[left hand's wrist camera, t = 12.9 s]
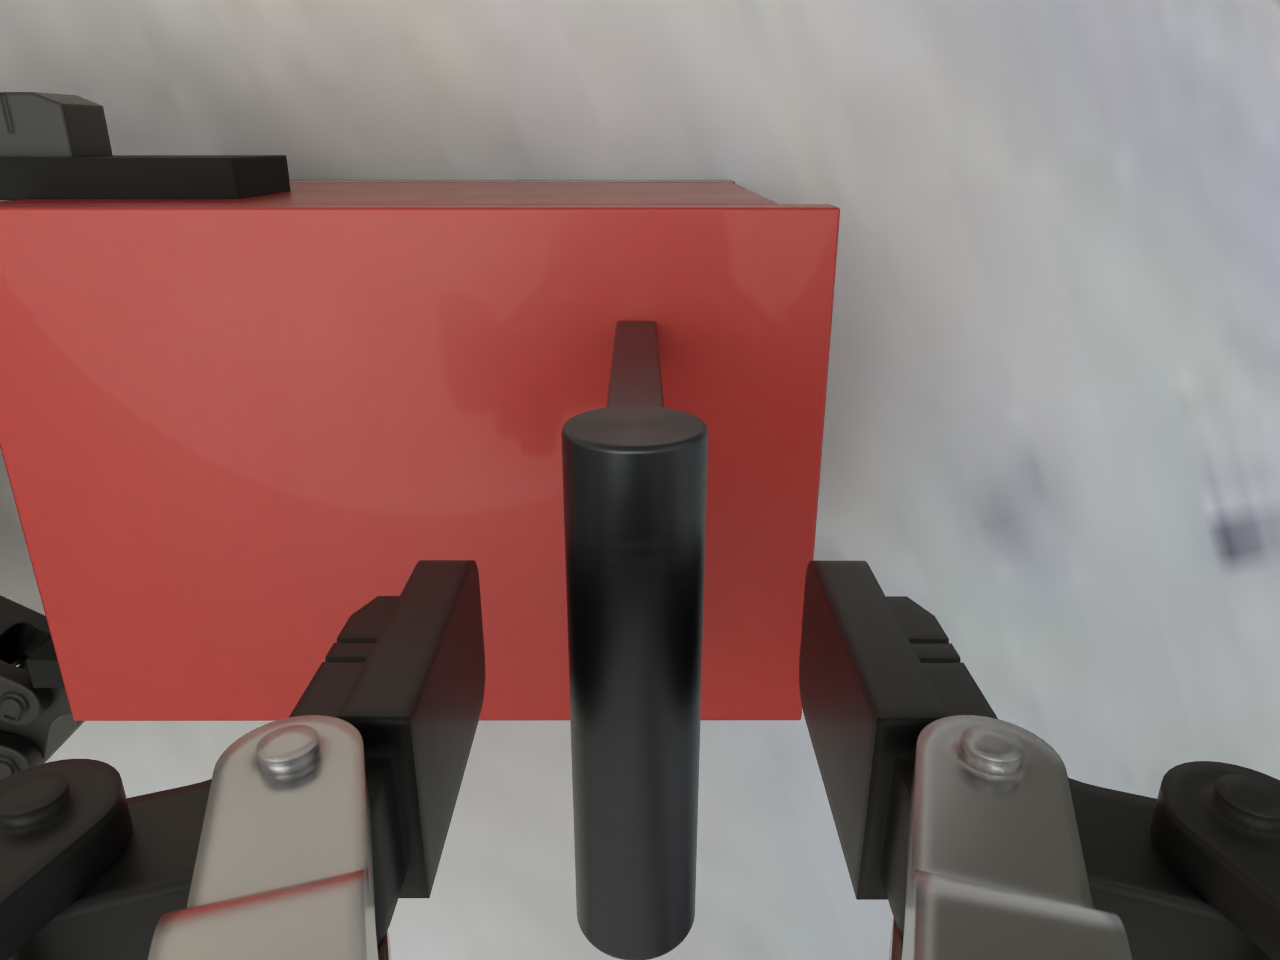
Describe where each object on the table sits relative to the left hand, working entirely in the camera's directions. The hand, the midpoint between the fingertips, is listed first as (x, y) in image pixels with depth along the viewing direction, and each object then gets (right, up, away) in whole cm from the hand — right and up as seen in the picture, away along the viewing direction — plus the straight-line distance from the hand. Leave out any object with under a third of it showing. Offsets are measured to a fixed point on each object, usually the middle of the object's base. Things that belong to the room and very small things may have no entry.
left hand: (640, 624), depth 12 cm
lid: (-4, +2, +5) cm, 7 cm away
